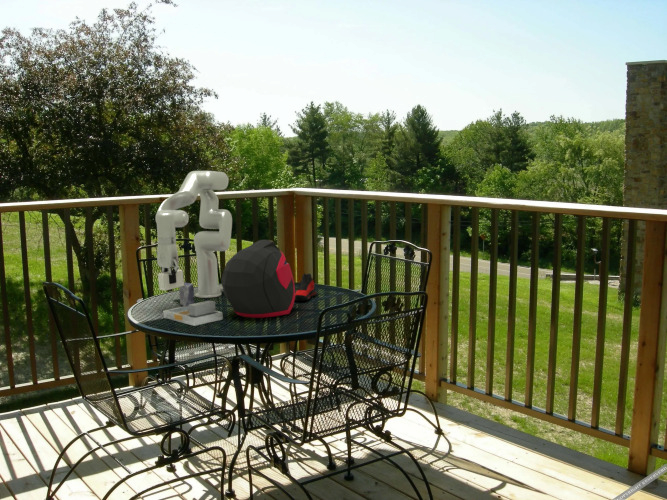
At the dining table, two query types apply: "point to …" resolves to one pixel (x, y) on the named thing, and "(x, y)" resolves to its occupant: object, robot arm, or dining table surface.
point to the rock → (186, 294)
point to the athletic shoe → (305, 288)
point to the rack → (194, 313)
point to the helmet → (259, 281)
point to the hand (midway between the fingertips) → (169, 282)
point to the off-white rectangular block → (164, 280)
